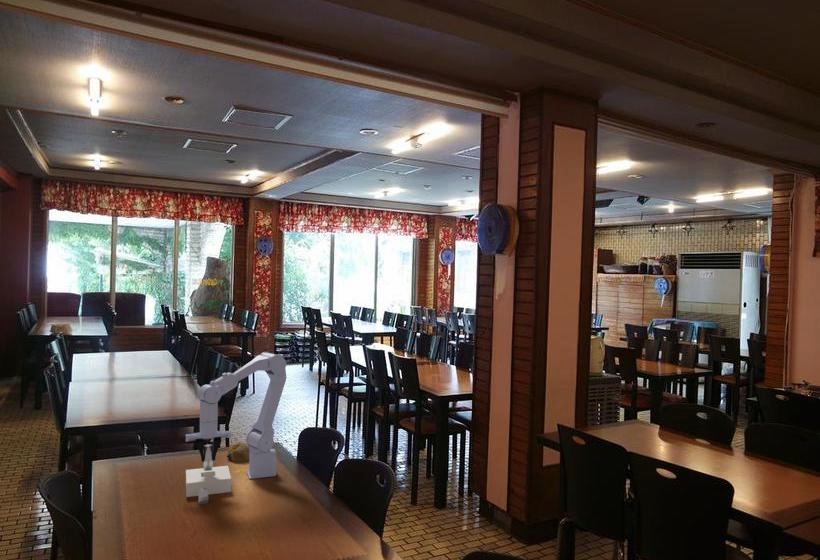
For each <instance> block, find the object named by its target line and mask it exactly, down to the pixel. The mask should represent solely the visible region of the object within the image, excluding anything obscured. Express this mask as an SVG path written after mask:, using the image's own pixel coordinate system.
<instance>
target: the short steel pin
mask: <svg viewBox="0 0 820 560" xmlns="http://www.w3.org/2000/svg"><path fill="white" fill-rule="evenodd" d="M197 497H198V500H197V502H198V504H200V505H204V504H205V505H206V504H208V503H209V495H208V488H201V489H199V490H198V496H197Z"/></svg>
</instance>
